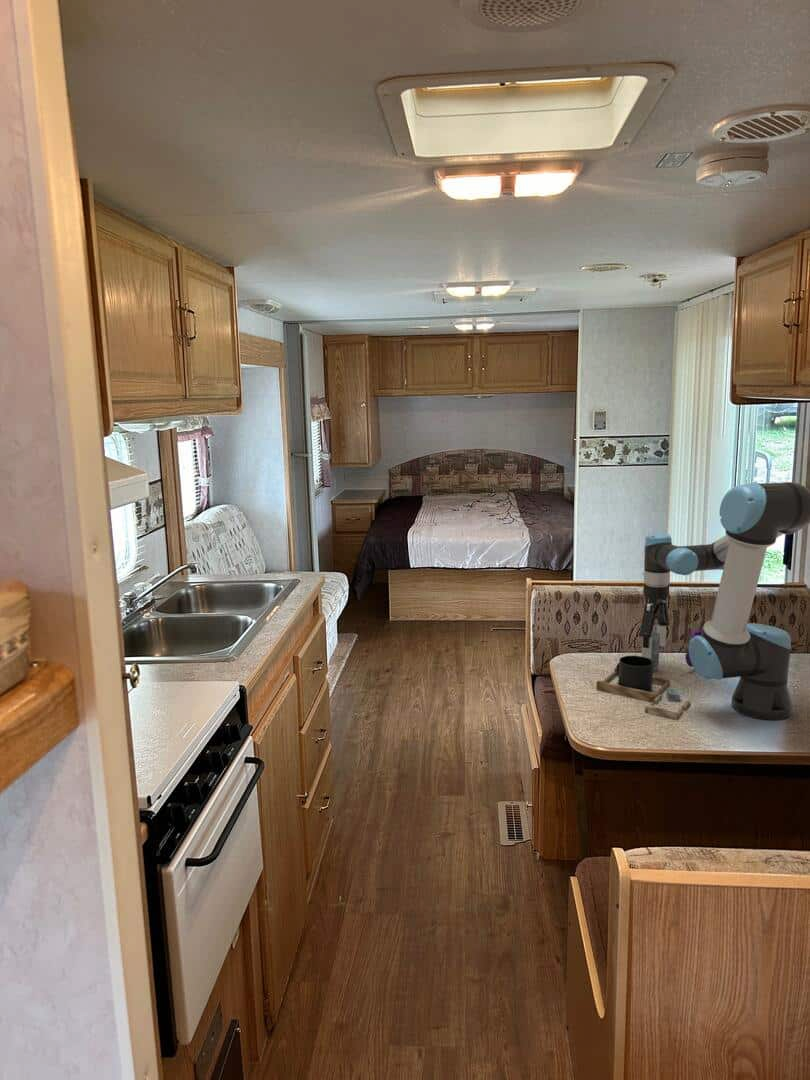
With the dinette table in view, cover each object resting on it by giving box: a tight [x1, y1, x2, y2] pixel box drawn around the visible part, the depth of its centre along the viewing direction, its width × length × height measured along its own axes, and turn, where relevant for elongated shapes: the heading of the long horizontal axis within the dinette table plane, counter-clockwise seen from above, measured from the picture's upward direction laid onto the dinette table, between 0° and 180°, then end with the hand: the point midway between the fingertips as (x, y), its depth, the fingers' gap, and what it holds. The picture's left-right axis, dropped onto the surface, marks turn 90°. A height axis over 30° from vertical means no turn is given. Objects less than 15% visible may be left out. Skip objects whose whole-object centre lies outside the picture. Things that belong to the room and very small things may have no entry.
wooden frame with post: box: [595, 631, 671, 703], centre depth 230 cm, size 17×26×12 cm, turn 144°
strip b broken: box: [644, 687, 691, 721], centre depth 214 cm, size 9×17×2 cm, turn 144°
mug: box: [615, 655, 654, 692], centre depth 225 cm, size 9×12×9 cm
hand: (653, 651), depth 238 cm, fingers open, 13 cm apart
